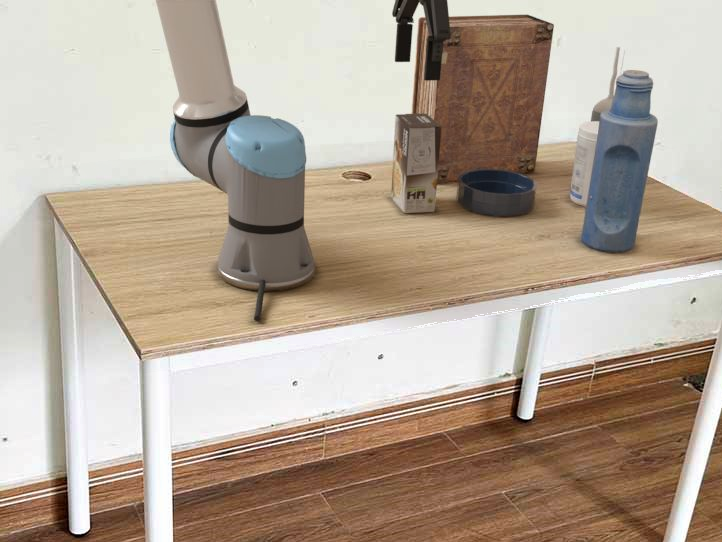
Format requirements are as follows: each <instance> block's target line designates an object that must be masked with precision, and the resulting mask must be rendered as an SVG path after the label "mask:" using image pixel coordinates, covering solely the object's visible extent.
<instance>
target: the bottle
mask: <svg viewBox="0 0 722 542" xmlns="http://www.w3.org/2000/svg"><path fill="white" fill-rule="evenodd" d="M653 86H654V79H653V78H652V77H650V74H649V72H648V71H644V70H637V69H626V70H623V72H622V73H621V74H620V75H617V76H616V79H615V88H614V98H613V101H612V106H611V109H608V110H604V111H603V112H602V113H601V115H600V121H599V129H598V136H597V143H596V148H595V155H594V161H593V167H592V174H591V180H590V186H589V192H588V198H587V204H586V207H585V211H584V217H583V224H582V230H581V236H580V240H581V242H582V244H584V245H585V246H586V247H589V248H591V249H593V250H595V251H599V252H603V253H611V254H612V253H613V254H615V253H625V252H628V251H629V252H630V251H631V250H633V248H634V247H635V245H636V239H637V233H638V228H639V224H640V223H639V222H640V216H641V212H642V206H643V201H644V196H645V190H646V186H647V181H648V176H649V171H650V165H651V160H652V156H653V155H652V154H653V150H654V145H655V139H656V134H657V129H658V123H659V119H658V118H657V116H655V115H654V114H652V113H651V104H652V103H651V102H652V101H651V99H652V97H651V95H652V91H653V88H654V87H653Z"/></svg>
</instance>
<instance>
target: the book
mask: <svg viewBox="0 0 722 542" xmlns="http://www.w3.org/2000/svg"><path fill="white" fill-rule="evenodd" d="M449 24H450V34H451V37H450V39H449V40H445V41H443V51H442V62H441V74H440V80H429V81H425V80H424V70H425V58H426V46H427V41H426V39H427V37H428V36H429V33H428V28H427V23H426V18H425V16H423V17H422V16H421V17H418V23H417V34H416V35H417V36H416V47H415V48H416V49H415V50H416V51H415V60H414V61H415V63H414V75H413V90H412V103H411V114H427V115H428V116H430V117H431V118H432V119H433V120H434V121H435V122H437V123H438V124H439V125H440V126H441V127H442V128H441V141H440V154H439V166H438V179H437V184H440V183H451V182H458V177H459V176H460V175H461V174H462V173H464V172H467V171H471V170H477V169H499V170H506V171H512V172H516V173H520V174H522V175H524V174H531V173H533V174H534V173H535V171H536V166H537V165H536V164H537V157H538V150H539V142H540V133H541V126H542V119H543V111H544V104H545V96H546V89H547V81H548V74H549V73H548V72H549V64H550V58H551V52H552V43H553V36H554V27H555V24H554V23H552V22H549V21H547V20H543V19H542V18H539V17H538V18H537V17H536V16H533V15H530V14H496V15H495V14H494V15H493V14H492V15H458V16H457V15H456V16H454V15H453V16H449Z"/></svg>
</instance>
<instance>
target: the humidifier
mask: <svg viewBox="0 0 722 542" xmlns="http://www.w3.org/2000/svg"><path fill="white" fill-rule="evenodd" d="M620 49H621V47H620V46H616V48H615V54H614V60H613V67H612V75H611V78H610V81H609V92H608V95H607V97H606V98H603V99H601V100H599V101H598V102H597V103H596V104H595V105H594V106H593V108H592V111H591V117H590V122H591V121H600V115H601V113H602V112H603V111H604V110H608V109H611V106H612V101H613V98H614V94H615V85H616V79H617V77H618V64H619V58H620ZM625 53H626V50H624V51H623V54H625ZM624 59H625V55H623V58H622V60H624ZM623 64H624V61H622V63H621V67H620V70H622V68H623V66H624V65H623Z"/></svg>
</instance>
